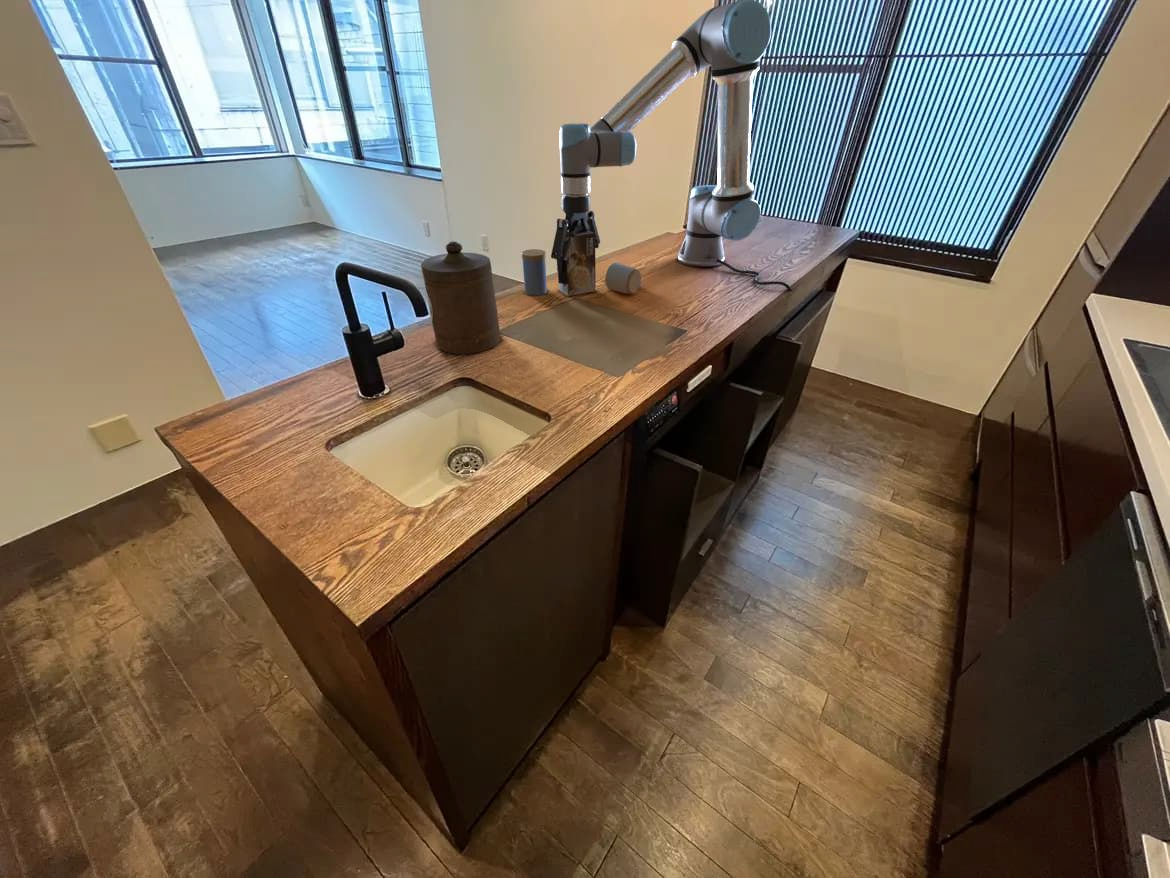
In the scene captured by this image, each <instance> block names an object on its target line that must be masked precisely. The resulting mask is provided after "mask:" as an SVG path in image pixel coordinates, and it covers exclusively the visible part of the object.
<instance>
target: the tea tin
mask: <svg viewBox="0 0 1170 878" xmlns="http://www.w3.org/2000/svg"><path fill="white" fill-rule="evenodd" d="M520 254H521V261H522V272H523V285H524V294H526V295H527V296H541V295H542V296H543V295H545V294H547V293H548V284H547V283H548V281H547V264H546V255H547V254H546V251H545V250H543V249H539V248H538V249H537V248H532V249H531V248H530V249H526V250H523V251H521V252H520Z"/></svg>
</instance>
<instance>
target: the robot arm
mask: <svg viewBox="0 0 1170 878" xmlns="http://www.w3.org/2000/svg"><path fill="white" fill-rule="evenodd" d="M771 36H772V22H771V17H770V15H769V12H768V10H767V8H765V6H764V5H763V4H762V3H761V2H759V1H757V0H737V1H734V2H729V3H725V4H723V5H722V4H721V5H716V6H714V7H712V8H709V9H708V10H706V11H705V12H703V14H702V15H700V16H699V17H697V19H696V20H695V21H694V22H693V23H692V24H691V25H690V26H688V27H687V29H685V30H684V31H683V32H682V33H681V34H680V36H678V37H677V38H676V39H675V40H674V41H673V42H672V45H671V50H670V51H669V52H668V53H667V54H666V55H664V56H663V58H662V59H660V60H659V62H658V63H656V64H655V65H654V67H652V68H651V69H650V70H649V71H648V72H647V73H646V74H645V75H644V76H643V77H642V78H641V79H639V81H638V82H637V83H635V85H634V86H632V88H630V90H628V92H626V93H625V94H624V95H623V96H622V97H621V98H620V99H619V100H618V101H617V102H616V103H615V104H614V105H613V106H612V107H611V108H609V110H608V111H606V113H604V115H603V116H601V117H600V119H599V120H597V121H596V122H595V123H594V124H593V125H592V126H590V124H589V123H585V122H584V123H582V122H579V123H571V122H570V123H564V124H562V125H561V126H560V128H559V144H558V145H559V148H558V149H559V158H560V159H559V161H560V185H561V186H560V187H561V193H562V194H563V195H561V210H562V211H563V212H564V218H557V219H556V229H555V234H554V239H553V245H552V249H551V254H550V258H551V259H554V260H556V271H557V283H558V284H559V283H561V284H565V285H567V284H568V273H567V260H566V259H565V257H566V255H567V252H568V249H569V247H570V244H571V237H572V236H575V235H576V234H577V233H579V232H583V231H591V232H593V233H595V249H599V247H600V244H601V238H600V235H599V232H598V227H597V224H596V220H595V211H594V210H591V196H590V193H591V168H607V167H620V168H622V167H625V166H630V165H632V164H633V163H634V162H635V160H636V156H637V140H636V136H635V135H634V134H633V132H631V131H632V130H634V129H635V128H636V127H637V126H638V125H639V124H640V123H641V122H642V121H643V120H644V119H645V118H646V117H648V115H649V114H651V113H652V112H653V111H654V110H655V109H656V108H658V106H659V105H660V104H661V103H662V102H663V101H664V100H666V99H667V97H669V96H670V95H671V94H672V93H673V92H674V91H675V90H676V89H677V88H678V87H679V86H680V85H681V84H683V83H684V81H686V80H687V79H693V78H695V77H696V76H697V75H698V74H699V73H700V72H702V71H703V70H705V69H707V68H709V67H711V79H712V80H714V82H715V83H716V85H717V165H716V166H717V167H716V169H717V170H716V171H717V174H716V175H717V178H716V179H717V181H716V183H717V184H708V185H707V184H706V185H696V186H693V187H692V189H691V191H690V196H689V198H688V201H689V204H688V213H687V223H686V224H687V225H686V232H685V237H684V240H683V242H682V244H681V247H680V249H679V252H678V255H677V261H678V262H679V263H681V264H683V265H685V266H690V267H696V268H713V267H717V266H721V265H723V266H725V267H726V268H727V269H729V270H731V271H732V272H735V273H739V274H746V275H747V274H748V275H755V276H756V277H754V279H753V283H755V284H757V285H760V286H769V285H770V286H771V285H780V286H783V287H785V288H786V289H787V290H788V291H793V289H792V287H791V286H790V285H789V284H788V283H786V282H784V281H778V280H773V281H759V279H760V278H761V273H760V272H758V271H755V270H743V269H738V268H735V267H733V265H731V264H729V263H727V262H725V251H724V244H723V238H724V240H725V239H726V240H730V241H733V242H736V241H738V242H739V241H742V240H744V239H746V238H748V237H749V236H750V235H751V234H752V233H753V231H754V230H756V228H757V227H758V225H759V223H760V220H761V216H762V210H761V205H760V204H759V203H758V201H756V199H754V196H755V195H754V193H755V186H754V184H753V183H751V182H750V159H751V157H750V155H751V135H752V134H751V131H752V107H753V106H752V105H753V81H754V77H755V75H756V74H757V73H758V71H759V70H760V65H761V57H762V56H764V54H765V53H766V49H767V48H769V47H768V46H769V44H770V41H771ZM565 236H566V237H569V238H568V240H567V241H565Z"/></svg>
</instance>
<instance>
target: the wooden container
mask: <svg viewBox="0 0 1170 878" xmlns="http://www.w3.org/2000/svg"><path fill="white" fill-rule="evenodd" d="M445 250H446V252H447V253H443V254H442V253H441V254H436V255H433V256H430V257H428V258H426V259H424V260H423V261H421V263H420V268H421V274H422V278H423V284H424V288H425V289H424V290H425V294H426V300H427V304H428V311H429V317H430V322H431V326H432V330H433V335H434V339H435V344H436V346H437V347H438V348H439V349H440V350H442V351H443V352H446V353H449V354H457V355H459V354H460V355H465V354H475V353H479V352H484V351H486V350H489V349H491V348H493V347H495V346H496V345H497V344H498V343H499V342H500V340H501V329H500V323H499V322H500V319H499V314H498V306H497V301H496V292H495V287H494V280H493V271H492V270H493V269H492V263H491V259H490V257H488V256H487V255H485V254H482V253H476V252H462V250H463V246H462V244H461V243H459V242H458V241H448V243H447V244H446V245H445Z"/></svg>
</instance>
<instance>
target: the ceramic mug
mask: <svg viewBox="0 0 1170 878" xmlns="http://www.w3.org/2000/svg"><path fill="white" fill-rule="evenodd" d="M604 278H605V280H604V281H605V282H604V283H605V286H606V288H607V289H608V290H610V291H613V292H618V293H622V294H626V295H633V294H635V293H636V292H637V291H638V290H639V288H641V286H642V283H643V282H642V273H641V271H640V270H639V269H637V268H635V267H633V266H630V265H627V264H624V263H621V262H618V261H614V262H612V263H611V264H610V265H609V267H608V268H607V269H606V273H605V277H604Z"/></svg>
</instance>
